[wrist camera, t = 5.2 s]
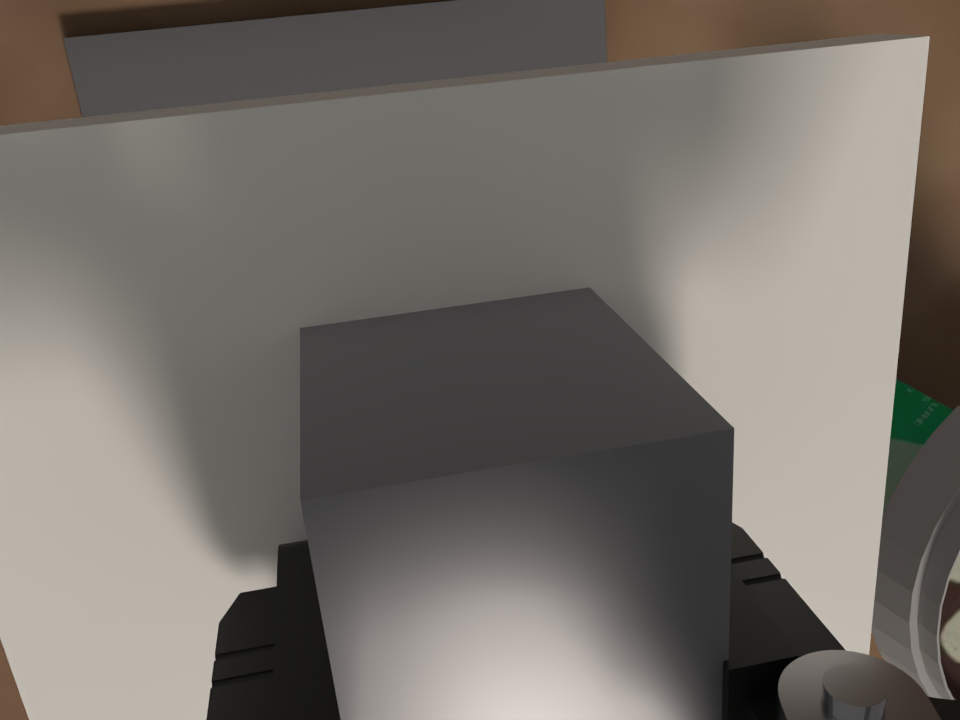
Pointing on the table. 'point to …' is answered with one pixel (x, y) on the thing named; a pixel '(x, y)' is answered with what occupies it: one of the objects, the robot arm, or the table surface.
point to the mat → (331, 52)
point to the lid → (455, 377)
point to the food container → (921, 545)
